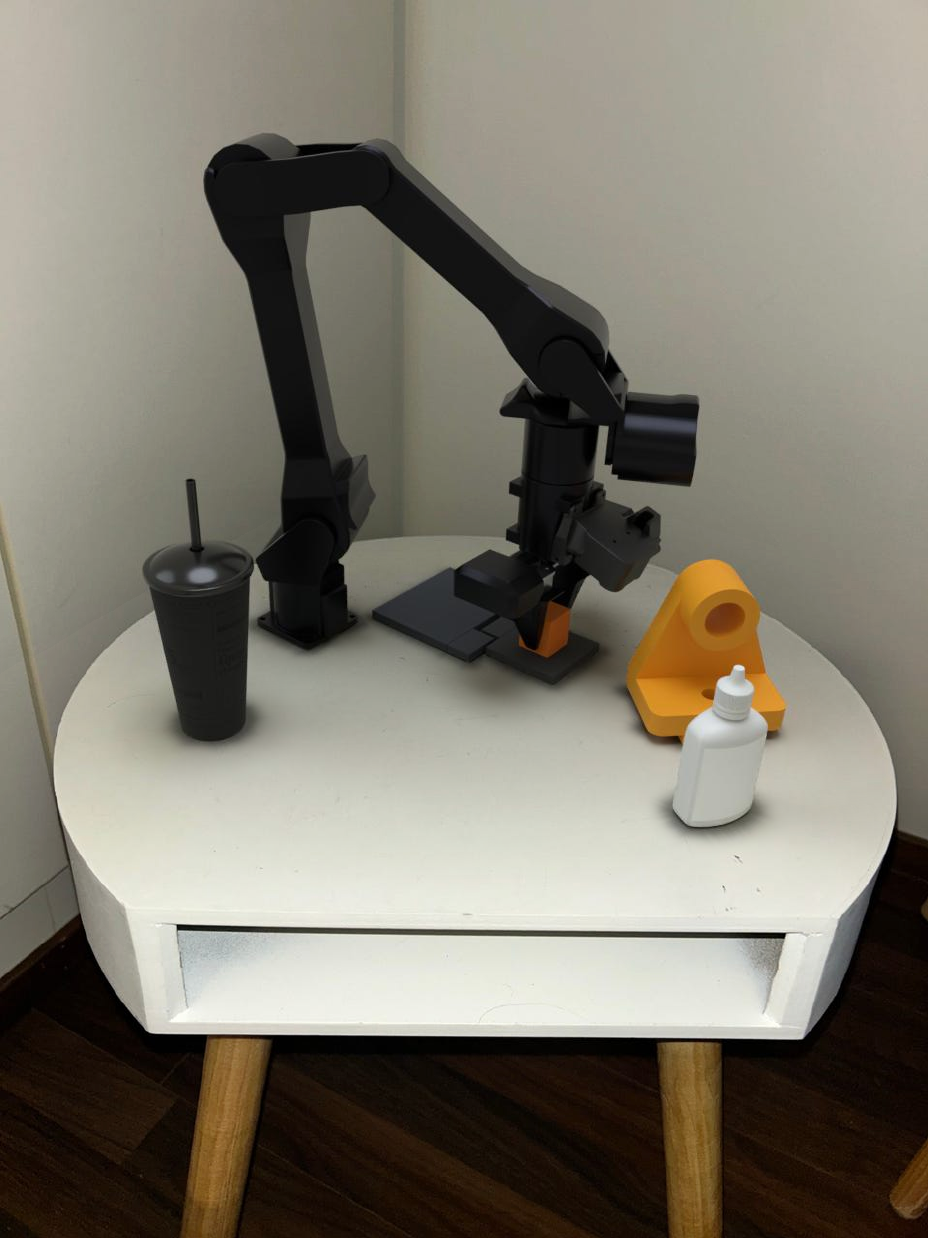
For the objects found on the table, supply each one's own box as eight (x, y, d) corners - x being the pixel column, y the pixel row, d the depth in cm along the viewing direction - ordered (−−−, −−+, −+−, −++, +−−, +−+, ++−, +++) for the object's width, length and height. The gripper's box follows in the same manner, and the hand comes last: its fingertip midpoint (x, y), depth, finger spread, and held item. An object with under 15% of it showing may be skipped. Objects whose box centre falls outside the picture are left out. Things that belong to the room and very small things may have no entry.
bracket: (649, 745, 84) (670, 609, 78) (624, 691, 90) (642, 561, 84) (783, 738, 85) (814, 604, 79) (750, 685, 91) (777, 557, 85)
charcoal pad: (371, 617, 99) (371, 610, 98) (449, 574, 106) (449, 566, 106) (468, 662, 93) (469, 654, 92) (543, 613, 100) (544, 605, 100)
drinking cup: (215, 682, 89) (194, 449, 79) (285, 717, 85) (271, 477, 75) (140, 726, 84) (106, 482, 73) (211, 765, 80) (186, 515, 70)
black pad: (466, 646, 95) (468, 603, 93) (514, 615, 100) (517, 573, 98) (553, 685, 90) (557, 641, 88) (598, 651, 95) (604, 608, 93)
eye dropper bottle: (755, 835, 76) (788, 690, 70) (672, 827, 76) (698, 682, 70) (747, 794, 79) (778, 653, 73) (669, 786, 80) (693, 646, 74)
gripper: (578, 543, 75) (559, 727, 84) (706, 464, 88) (679, 631, 96) (451, 496, 81) (445, 672, 89) (589, 429, 94) (573, 589, 102)
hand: (542, 640), depth 94 cm, fingers closed on black pad, 3 cm apart
